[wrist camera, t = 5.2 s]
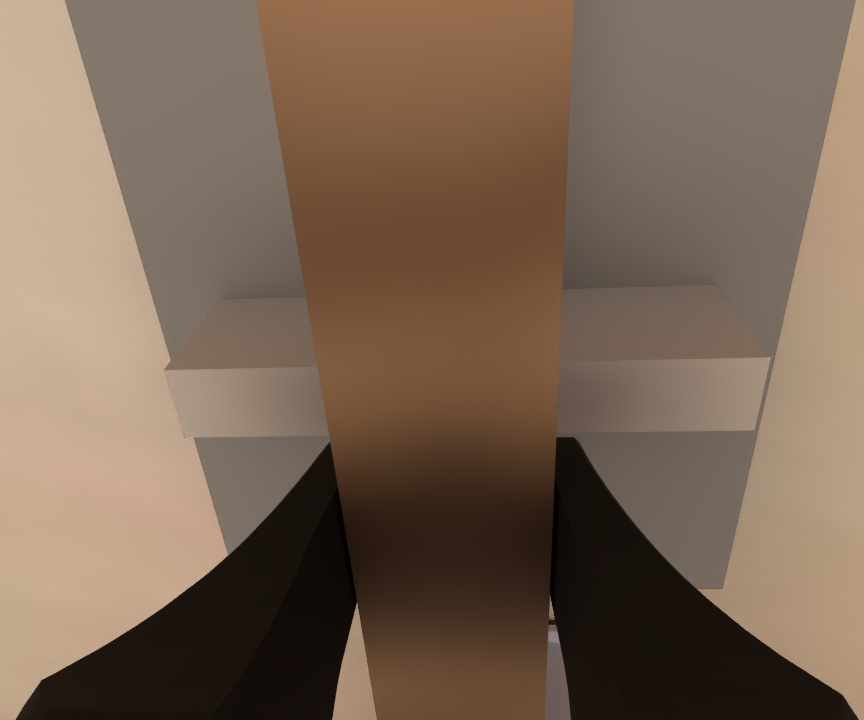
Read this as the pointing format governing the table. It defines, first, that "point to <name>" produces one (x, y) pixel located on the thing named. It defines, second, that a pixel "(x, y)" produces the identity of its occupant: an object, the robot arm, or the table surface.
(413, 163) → the walnut beam
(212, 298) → the fulcrum stand
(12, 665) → the table surface
